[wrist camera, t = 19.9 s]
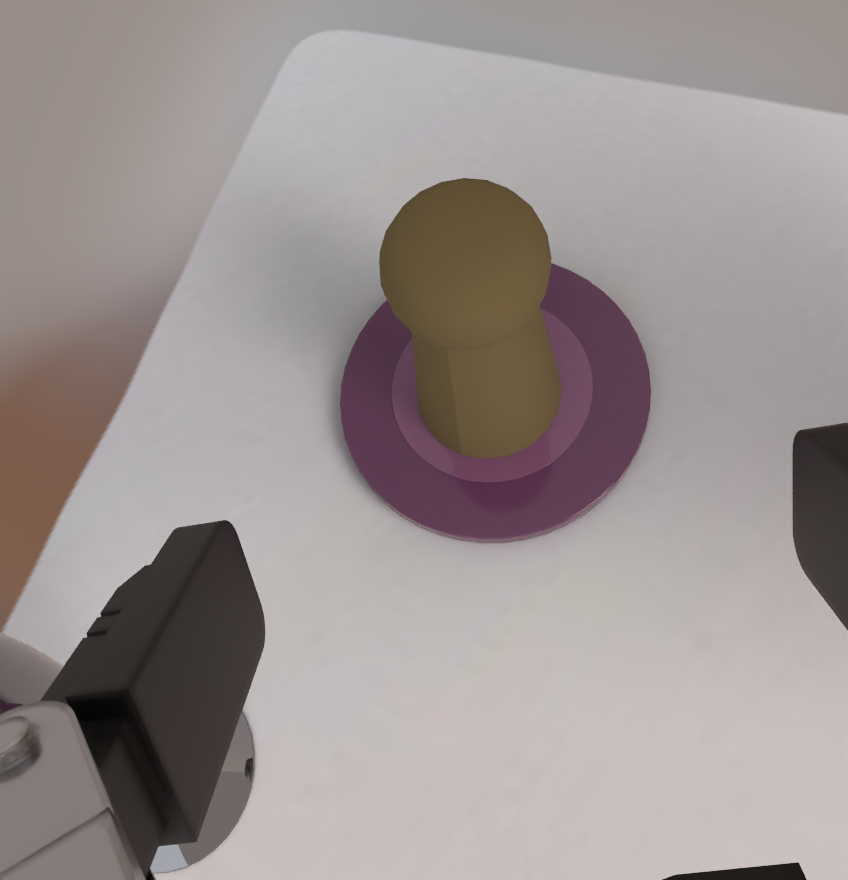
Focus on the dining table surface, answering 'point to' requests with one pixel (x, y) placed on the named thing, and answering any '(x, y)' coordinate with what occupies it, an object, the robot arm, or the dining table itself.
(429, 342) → the cork
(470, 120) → the dining table surface
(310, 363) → the dining table surface
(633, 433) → the saucer
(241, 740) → the wine glass
